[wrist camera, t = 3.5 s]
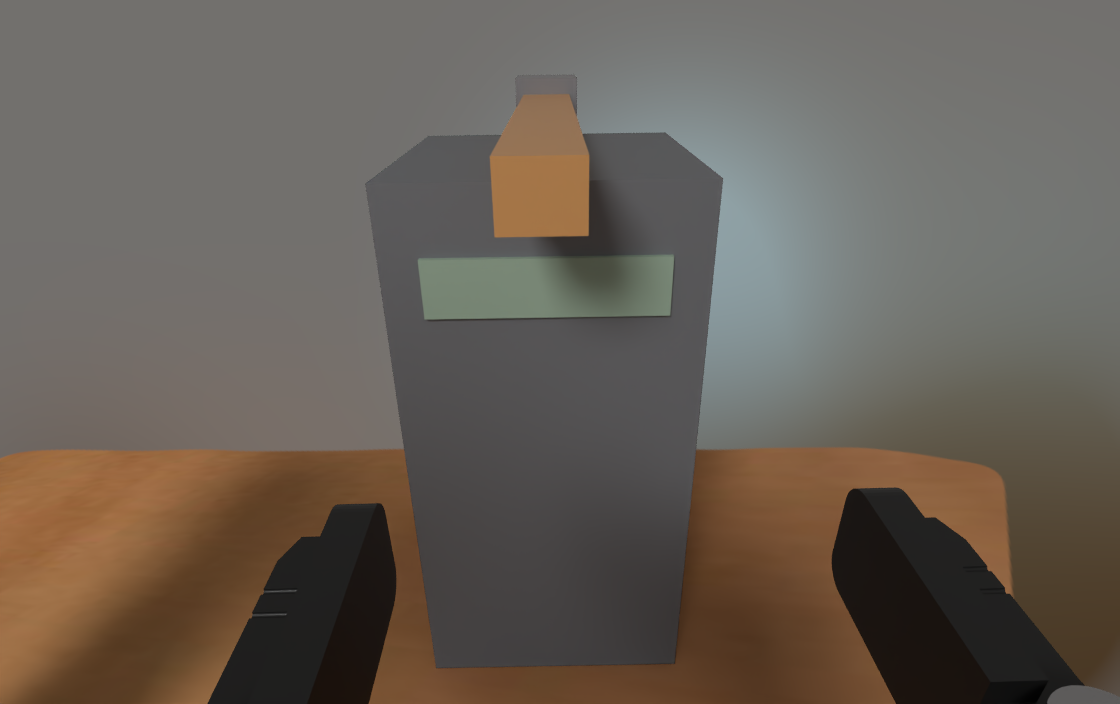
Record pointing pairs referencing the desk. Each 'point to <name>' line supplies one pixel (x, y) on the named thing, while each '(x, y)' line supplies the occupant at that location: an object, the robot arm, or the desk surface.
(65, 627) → the desk surface
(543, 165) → the lever bar
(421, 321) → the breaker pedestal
